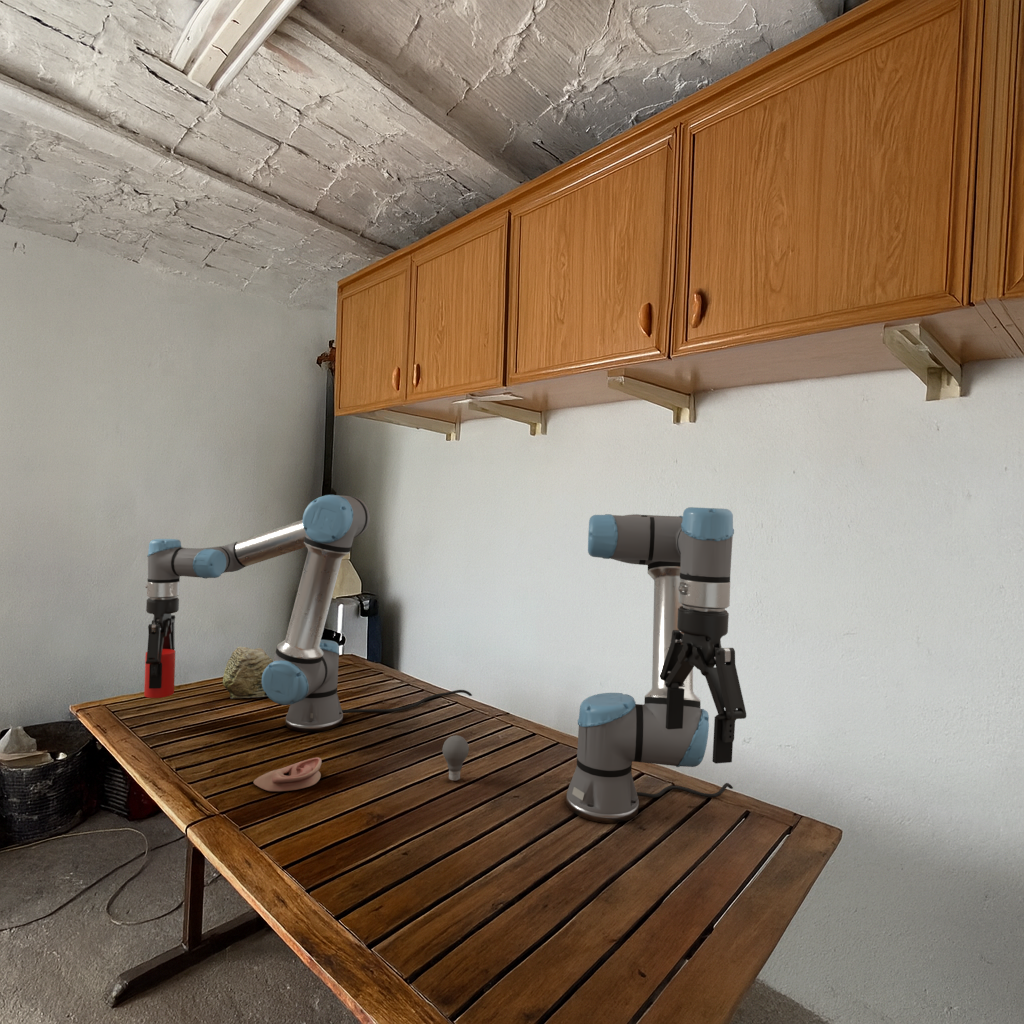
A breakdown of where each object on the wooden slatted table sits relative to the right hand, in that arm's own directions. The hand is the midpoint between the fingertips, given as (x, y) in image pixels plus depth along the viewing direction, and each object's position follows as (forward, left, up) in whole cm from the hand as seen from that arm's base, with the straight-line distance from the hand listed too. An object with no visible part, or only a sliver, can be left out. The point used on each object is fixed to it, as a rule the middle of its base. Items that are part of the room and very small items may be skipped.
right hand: (696, 744), depth 98 cm
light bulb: (+27, -55, -28) cm, 67 cm away
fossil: (+78, -125, -28) cm, 150 cm away
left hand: (+99, -99, -16) cm, 141 cm away
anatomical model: (+63, -61, -28) cm, 92 cm away
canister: (+99, -99, -19) cm, 141 cm away
